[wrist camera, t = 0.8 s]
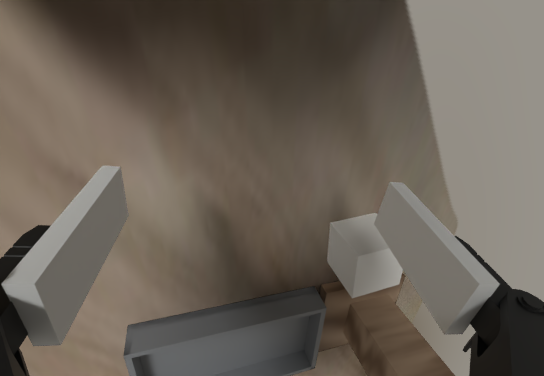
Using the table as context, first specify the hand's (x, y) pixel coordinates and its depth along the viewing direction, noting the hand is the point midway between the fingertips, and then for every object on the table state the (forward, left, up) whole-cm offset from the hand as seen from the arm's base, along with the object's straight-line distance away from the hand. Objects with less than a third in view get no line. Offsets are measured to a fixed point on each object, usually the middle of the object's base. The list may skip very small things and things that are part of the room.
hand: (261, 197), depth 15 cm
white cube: (+14, +15, -12) cm, 24 cm away
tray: (+27, 0, -12) cm, 30 cm away
